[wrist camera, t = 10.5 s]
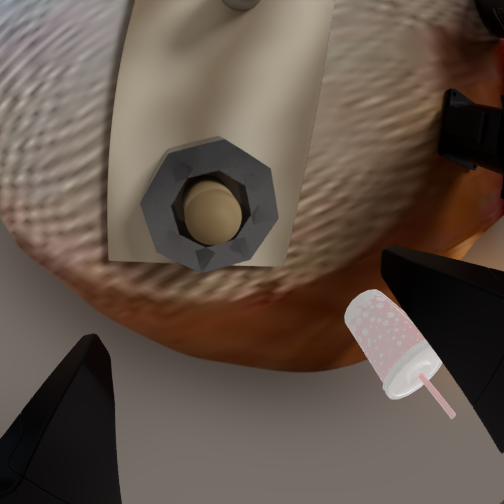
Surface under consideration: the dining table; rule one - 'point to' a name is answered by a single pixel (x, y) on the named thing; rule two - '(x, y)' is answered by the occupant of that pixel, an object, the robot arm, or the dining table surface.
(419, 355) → the beverage cup
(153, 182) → the steel ring
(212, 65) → the base board
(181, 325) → the dining table surface
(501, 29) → the supplement bottle
